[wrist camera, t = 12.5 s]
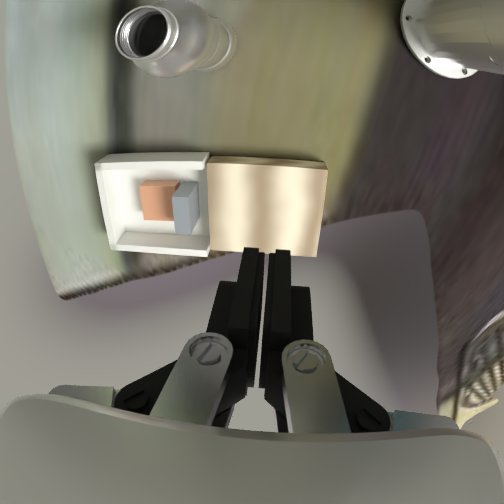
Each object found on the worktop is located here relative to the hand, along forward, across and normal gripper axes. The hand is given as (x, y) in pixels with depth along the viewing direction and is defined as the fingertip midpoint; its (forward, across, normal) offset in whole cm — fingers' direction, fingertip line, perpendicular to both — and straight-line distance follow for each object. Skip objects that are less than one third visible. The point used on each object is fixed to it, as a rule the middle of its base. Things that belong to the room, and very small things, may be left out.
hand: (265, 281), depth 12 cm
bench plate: (+29, +1, +10) cm, 31 cm away
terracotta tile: (+27, +15, +10) cm, 32 cm away
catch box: (+29, +16, +10) cm, 34 cm away
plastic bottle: (+29, +8, -10) cm, 32 cm away
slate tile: (+26, +10, +10) cm, 30 cm away
